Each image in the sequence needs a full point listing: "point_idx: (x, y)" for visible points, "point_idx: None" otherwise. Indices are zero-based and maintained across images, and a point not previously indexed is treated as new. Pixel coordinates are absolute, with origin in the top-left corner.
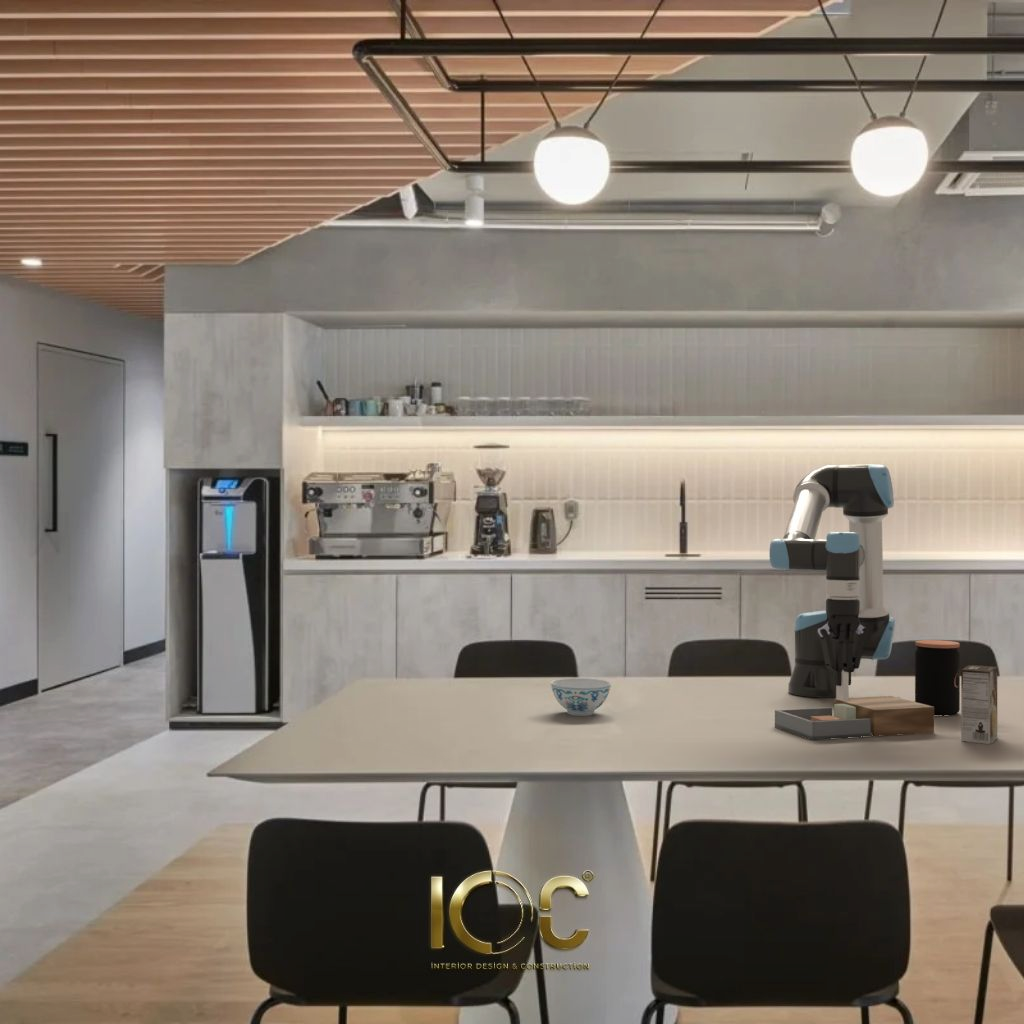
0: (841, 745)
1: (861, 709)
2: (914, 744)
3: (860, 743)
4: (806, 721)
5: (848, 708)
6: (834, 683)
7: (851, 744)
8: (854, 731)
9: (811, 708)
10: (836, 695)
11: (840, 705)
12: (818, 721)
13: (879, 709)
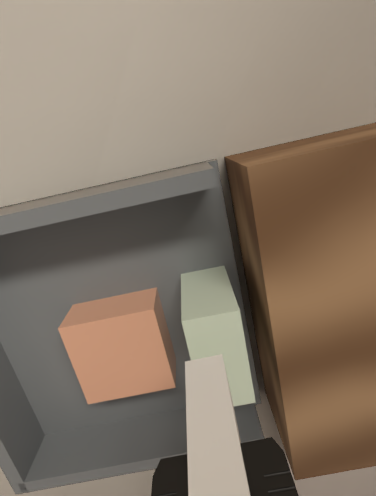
0: (113, 488)
1: (279, 395)
2: (325, 481)
3: None
4: (2, 463)
5: None
6: (157, 479)
7: (146, 479)
8: None
9: (90, 205)
10: (185, 378)
11: (199, 358)
12: (44, 483)
13: (324, 471)
